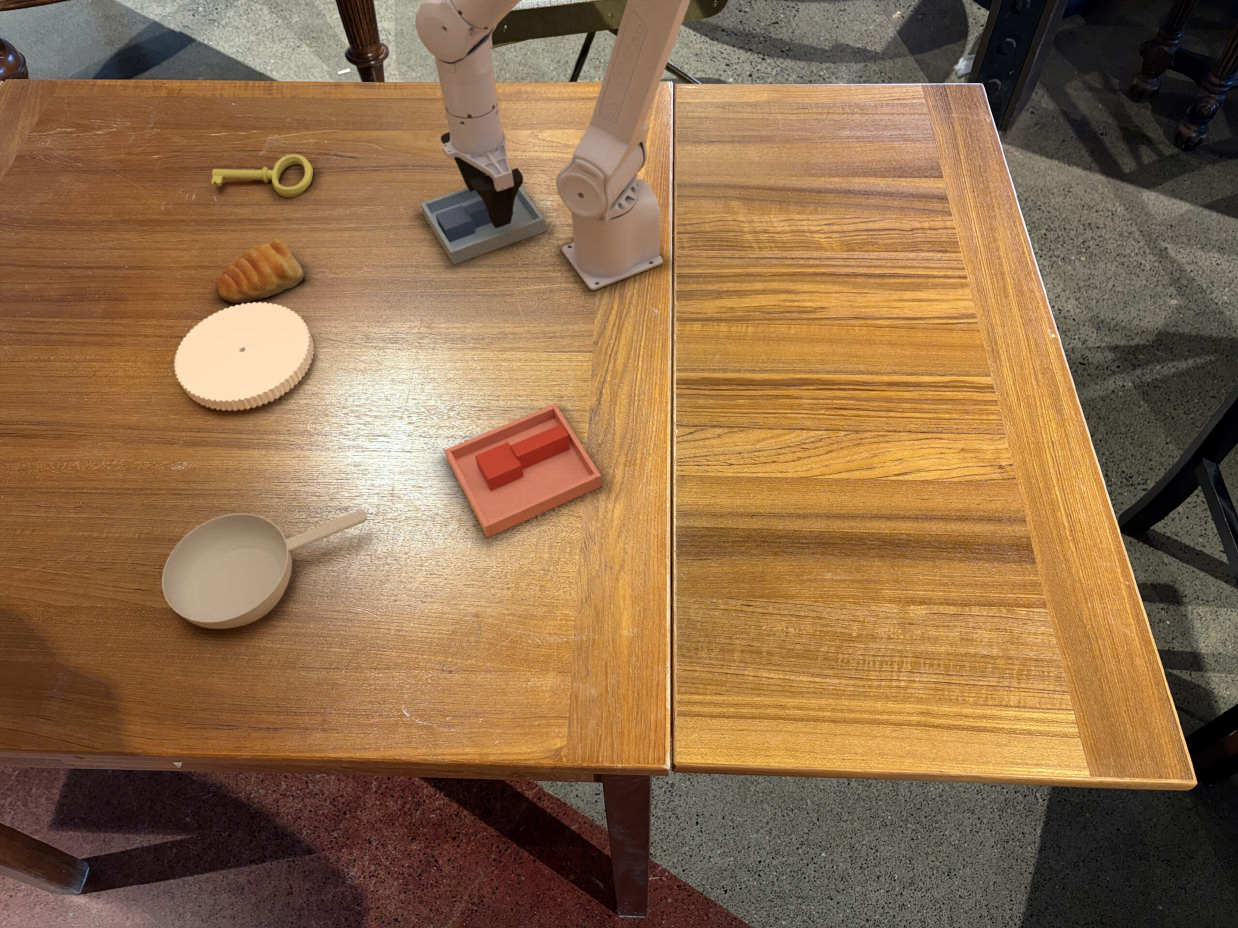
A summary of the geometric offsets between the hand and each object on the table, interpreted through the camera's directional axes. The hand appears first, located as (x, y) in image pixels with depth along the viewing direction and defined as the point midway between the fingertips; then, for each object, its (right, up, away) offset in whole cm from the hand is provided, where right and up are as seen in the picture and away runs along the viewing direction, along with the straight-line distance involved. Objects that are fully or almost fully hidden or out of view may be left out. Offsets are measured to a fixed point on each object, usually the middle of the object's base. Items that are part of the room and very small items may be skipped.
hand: (489, 205), depth 107 cm
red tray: (+6, -32, -20) cm, 38 cm away
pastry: (-25, -10, -3) cm, 27 cm away
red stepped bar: (+7, -31, -19) cm, 37 cm away
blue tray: (-1, -2, +2) cm, 3 cm away
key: (-29, +5, +7) cm, 31 cm away
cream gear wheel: (-24, -20, -11) cm, 33 cm away
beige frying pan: (-15, -41, -25) cm, 50 cm away
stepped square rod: (-1, -2, +1) cm, 2 cm away
